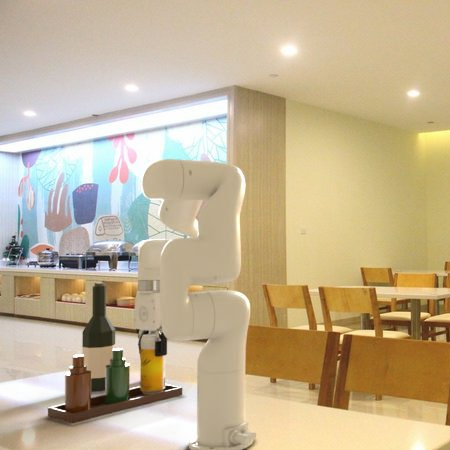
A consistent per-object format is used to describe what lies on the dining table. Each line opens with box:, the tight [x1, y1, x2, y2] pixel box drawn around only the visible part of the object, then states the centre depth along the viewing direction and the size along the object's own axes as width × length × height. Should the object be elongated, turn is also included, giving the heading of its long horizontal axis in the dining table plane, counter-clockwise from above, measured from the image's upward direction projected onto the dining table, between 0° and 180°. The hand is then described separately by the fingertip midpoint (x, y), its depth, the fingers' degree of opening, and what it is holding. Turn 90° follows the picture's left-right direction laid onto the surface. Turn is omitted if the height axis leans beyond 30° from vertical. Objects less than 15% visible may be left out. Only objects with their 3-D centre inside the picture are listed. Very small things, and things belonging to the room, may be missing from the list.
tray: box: [47, 383, 183, 424], centre depth 153 cm, size 11×30×3 cm, turn 147°
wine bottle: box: [81, 282, 116, 393], centre depth 171 cm, size 8×8×30 cm
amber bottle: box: [64, 354, 92, 413], centre depth 144 cm, size 6×6×14 cm
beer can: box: [139, 334, 166, 394], centre depth 161 cm, size 6×6×15 cm
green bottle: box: [104, 347, 131, 405], centre depth 153 cm, size 6×6×14 cm
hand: (153, 353), depth 161 cm, fingers closed on beer can, 6 cm apart
